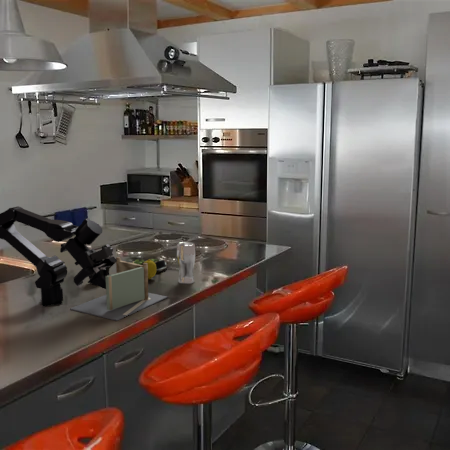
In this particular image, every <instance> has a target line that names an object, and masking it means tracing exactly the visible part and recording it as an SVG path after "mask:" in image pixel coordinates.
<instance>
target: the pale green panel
mask: <svg viewBox="0 0 450 450" xmlns="http://www.w3.org/2000/svg"><path fill="white" fill-rule="evenodd" d="M105 295H106V299H107V310H113V309H115V308H118V307H121V306H124V305H127V304H130V303H133V302H136V301H140V300H143V299H145V294H144V267H139V268H135V269H132V270H128V271H124V272H120V273H117V272H116V273H114V274H113V273H112V274H109V276H106V289H105Z"/></svg>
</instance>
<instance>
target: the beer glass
mask: <svg viewBox="0 0 450 450" xmlns="http://www.w3.org/2000/svg"><path fill="white" fill-rule="evenodd" d="M176 246H177V247H176V260H177V261H176V262H177V265H178V270H179V271H178V272H179V275H178V276H179V277H178V283H179V284H181V285H191V284H193V283H195V277H194V269H195V263H196V247H195V246H196V245H195V242H192V241H182V242H178V243H177V245H176Z"/></svg>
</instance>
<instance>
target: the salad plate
mask: <svg viewBox="0 0 450 450" xmlns="http://www.w3.org/2000/svg"><path fill="white" fill-rule="evenodd" d="M150 260H151V261H153V262H154V263H155V264H156V274H157V273H158V274H159V273H163V272H165V271H166V270H168V265H167V262H166V261H165V260H164V259H163V260H162V259H161V260H160V259H157V258H150ZM145 261H146V260H144V259H142V258H140V259H135V260H133V261H130V263H135V264H139V265H143V263H144V262H145Z"/></svg>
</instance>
